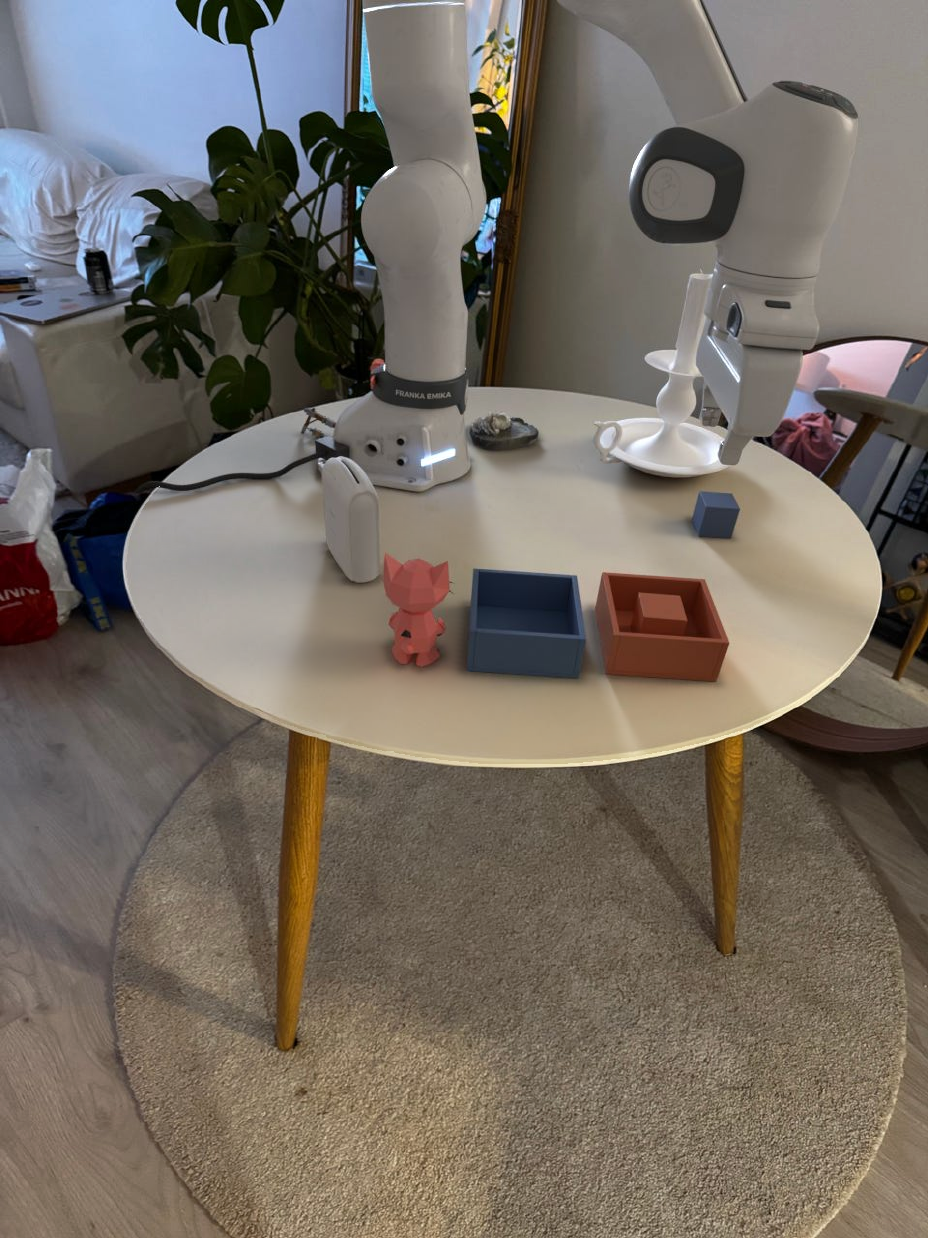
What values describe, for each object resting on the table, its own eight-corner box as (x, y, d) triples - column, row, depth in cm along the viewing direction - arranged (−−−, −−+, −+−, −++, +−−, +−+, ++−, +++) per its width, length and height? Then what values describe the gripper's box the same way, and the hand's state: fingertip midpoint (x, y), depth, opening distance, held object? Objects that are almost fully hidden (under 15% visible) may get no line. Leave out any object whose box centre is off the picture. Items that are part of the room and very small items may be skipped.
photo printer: (322, 543, 93) (315, 449, 85) (355, 537, 95) (351, 444, 87) (349, 587, 86) (345, 489, 78) (385, 580, 87) (383, 482, 80)
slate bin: (466, 671, 75) (469, 631, 72) (470, 605, 84) (473, 567, 81) (578, 678, 75) (586, 639, 72) (570, 612, 84) (577, 575, 81)
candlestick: (548, 450, 119) (573, 257, 102) (670, 428, 129) (711, 249, 112) (628, 509, 104) (672, 296, 88) (759, 479, 114) (821, 282, 97)
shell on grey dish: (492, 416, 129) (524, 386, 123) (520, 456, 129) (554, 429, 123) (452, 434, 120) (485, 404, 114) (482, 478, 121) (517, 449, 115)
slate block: (698, 536, 99) (706, 506, 97) (691, 519, 103) (699, 490, 100) (731, 538, 99) (740, 508, 97) (723, 522, 103) (732, 493, 100)
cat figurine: (454, 641, 79) (460, 542, 72) (442, 684, 73) (447, 581, 66) (388, 631, 80) (387, 533, 72) (371, 673, 74) (368, 571, 67)
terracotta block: (635, 650, 78) (643, 617, 76) (630, 625, 82) (638, 592, 79) (677, 654, 78) (687, 620, 76) (671, 628, 82) (680, 595, 79)
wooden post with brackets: (296, 427, 118) (306, 402, 116) (344, 450, 120) (354, 425, 118) (294, 431, 117) (304, 405, 115) (342, 454, 119) (353, 428, 117)
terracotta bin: (605, 674, 76) (614, 635, 73) (594, 609, 85) (602, 571, 82) (716, 681, 76) (729, 643, 73) (694, 615, 85) (705, 579, 82)
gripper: (700, 271, 77) (670, 402, 86) (749, 329, 61) (705, 484, 69) (762, 276, 77) (725, 406, 86) (827, 336, 61) (773, 489, 69)
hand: (716, 442), depth 77 cm, fingers open, 8 cm apart
